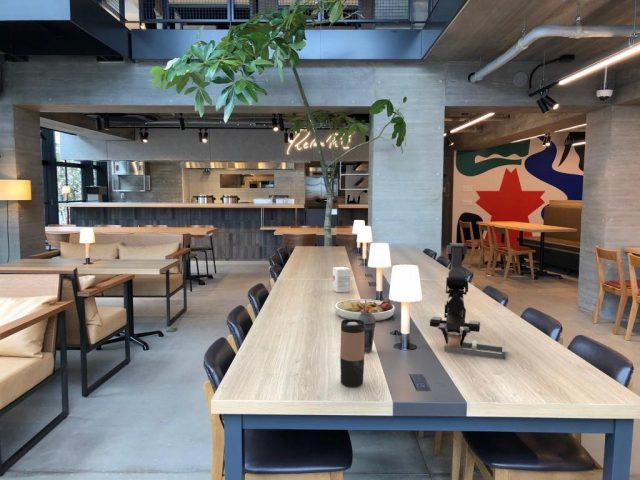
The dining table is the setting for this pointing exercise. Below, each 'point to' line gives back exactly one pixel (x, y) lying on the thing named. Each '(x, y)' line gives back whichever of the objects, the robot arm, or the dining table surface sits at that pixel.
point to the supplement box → (341, 279)
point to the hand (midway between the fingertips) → (454, 345)
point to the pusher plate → (474, 345)
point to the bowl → (357, 306)
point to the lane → (479, 352)
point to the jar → (454, 339)
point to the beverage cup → (368, 329)
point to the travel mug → (352, 352)
